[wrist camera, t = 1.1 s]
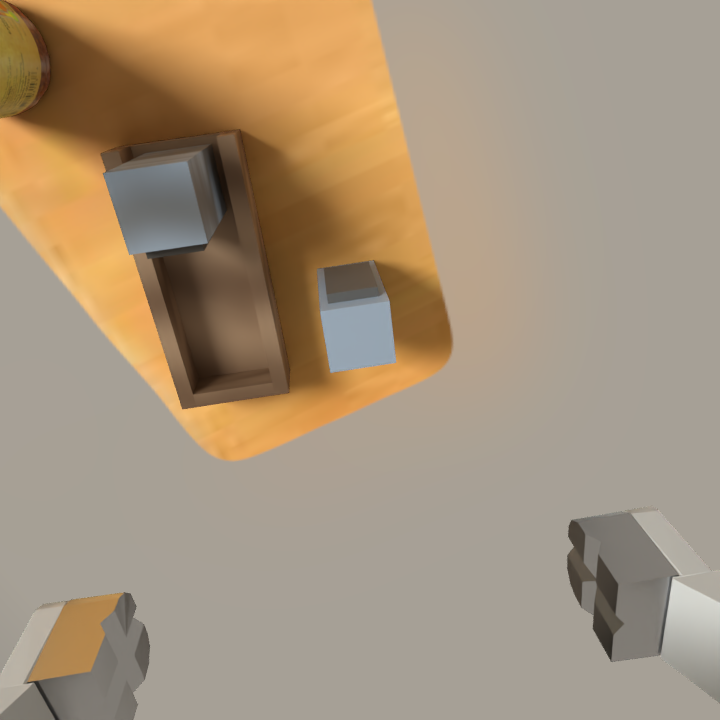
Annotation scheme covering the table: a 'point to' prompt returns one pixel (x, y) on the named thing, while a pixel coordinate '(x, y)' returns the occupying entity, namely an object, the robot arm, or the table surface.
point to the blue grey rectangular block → (355, 316)
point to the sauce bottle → (21, 62)
